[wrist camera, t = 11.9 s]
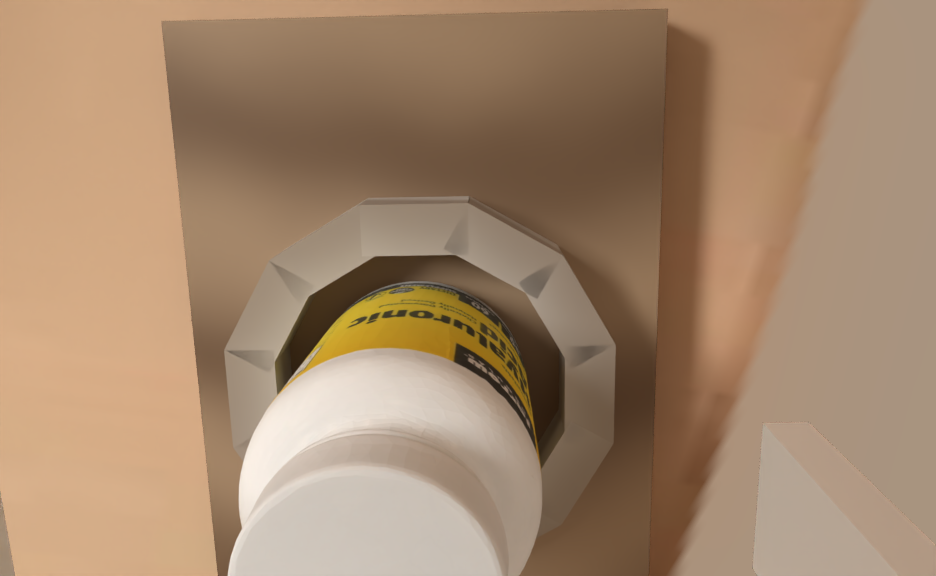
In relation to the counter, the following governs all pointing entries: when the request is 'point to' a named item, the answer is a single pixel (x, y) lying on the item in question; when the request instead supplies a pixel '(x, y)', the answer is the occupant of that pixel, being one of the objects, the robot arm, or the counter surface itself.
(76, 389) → the counter surface
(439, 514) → the supplement bottle
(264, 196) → the mount board
